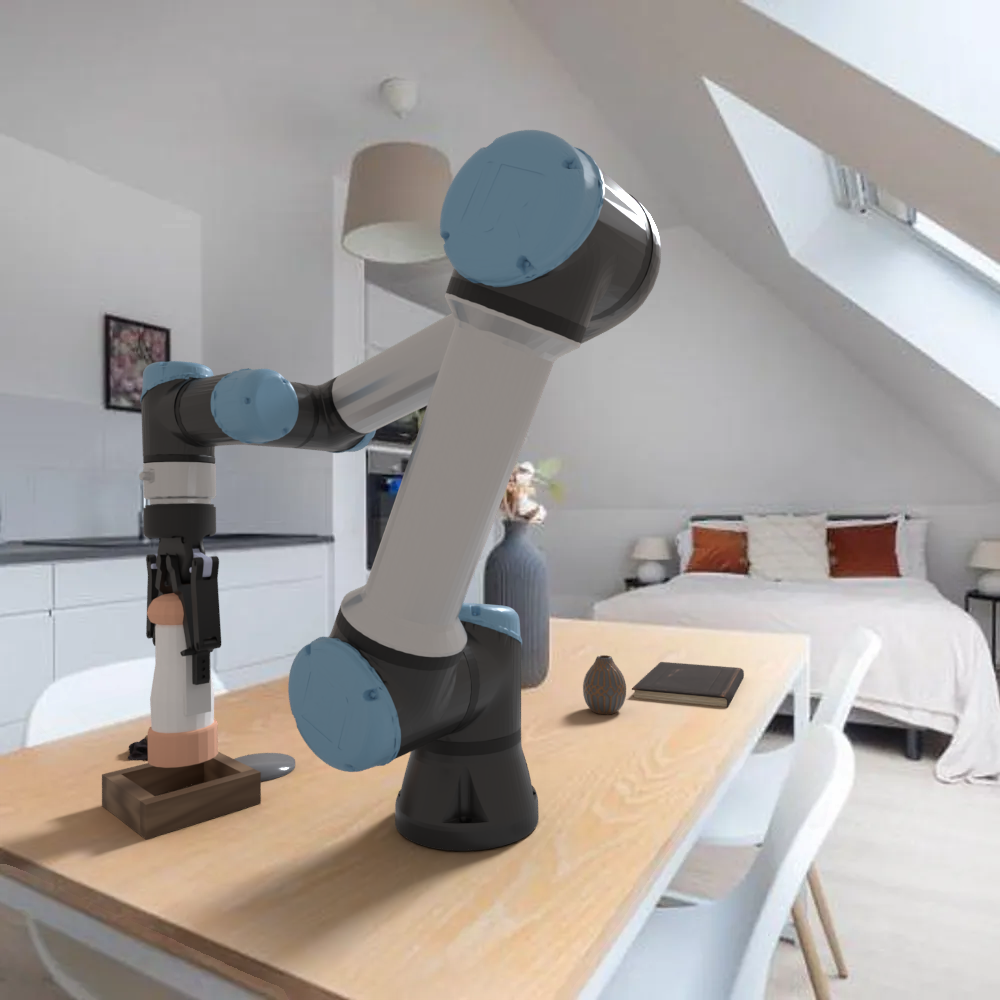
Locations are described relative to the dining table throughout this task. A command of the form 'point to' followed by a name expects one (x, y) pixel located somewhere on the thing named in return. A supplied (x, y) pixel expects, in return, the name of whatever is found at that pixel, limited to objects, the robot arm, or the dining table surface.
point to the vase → (604, 686)
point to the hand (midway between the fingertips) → (183, 707)
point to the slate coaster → (269, 764)
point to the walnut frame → (179, 794)
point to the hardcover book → (690, 684)
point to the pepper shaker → (175, 696)
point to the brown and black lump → (139, 750)
